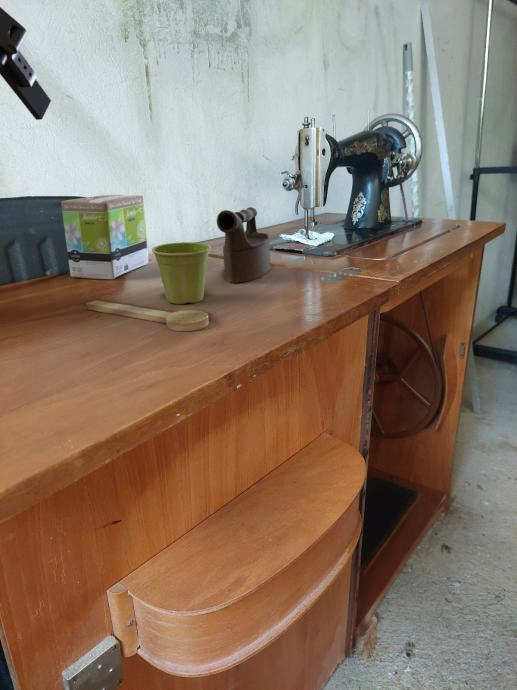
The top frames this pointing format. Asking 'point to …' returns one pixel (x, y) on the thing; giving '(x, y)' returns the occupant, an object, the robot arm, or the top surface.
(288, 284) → the top surface
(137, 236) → the tea box
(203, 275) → the plant pot
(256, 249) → the clothes iron
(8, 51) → the robot arm
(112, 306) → the spoon
